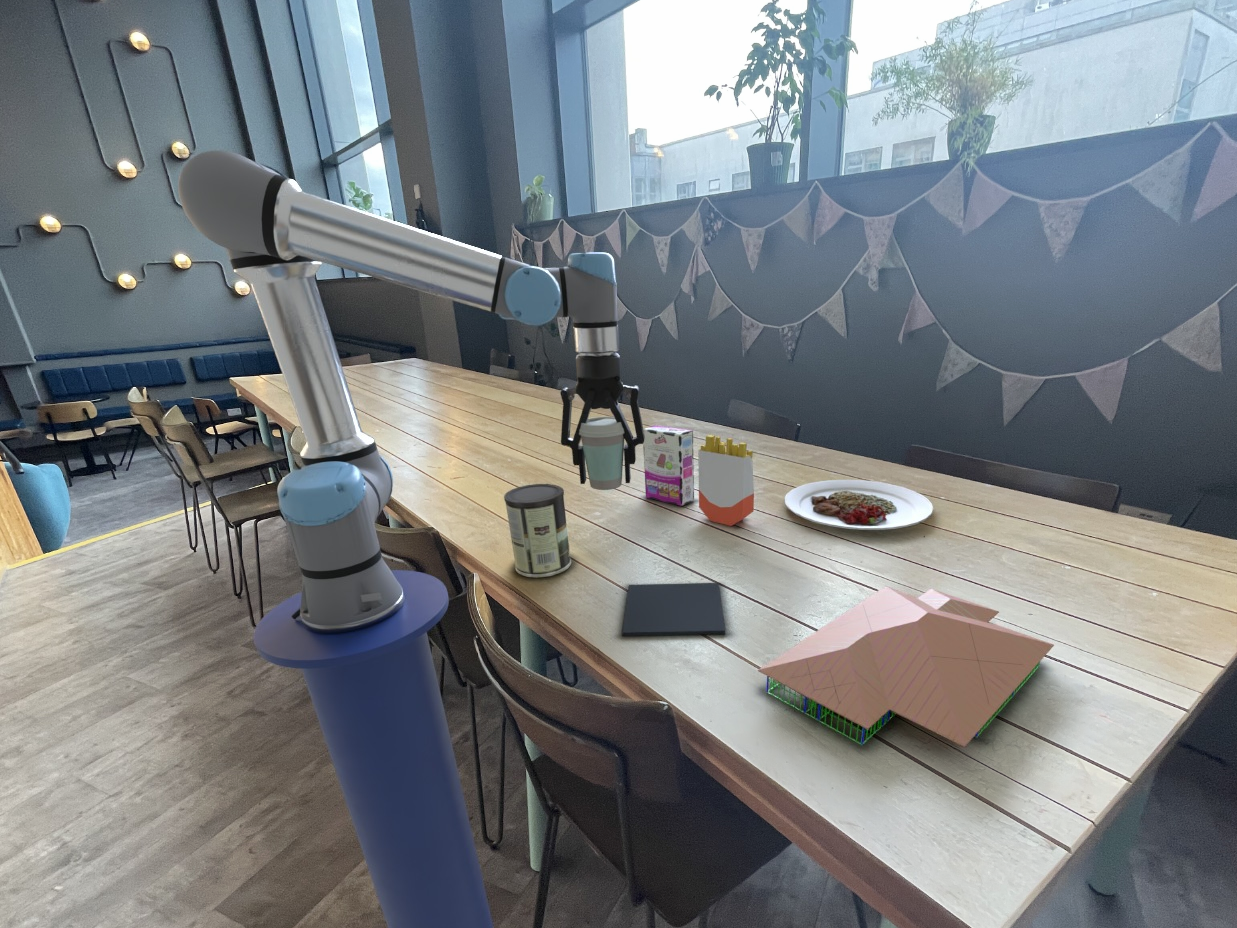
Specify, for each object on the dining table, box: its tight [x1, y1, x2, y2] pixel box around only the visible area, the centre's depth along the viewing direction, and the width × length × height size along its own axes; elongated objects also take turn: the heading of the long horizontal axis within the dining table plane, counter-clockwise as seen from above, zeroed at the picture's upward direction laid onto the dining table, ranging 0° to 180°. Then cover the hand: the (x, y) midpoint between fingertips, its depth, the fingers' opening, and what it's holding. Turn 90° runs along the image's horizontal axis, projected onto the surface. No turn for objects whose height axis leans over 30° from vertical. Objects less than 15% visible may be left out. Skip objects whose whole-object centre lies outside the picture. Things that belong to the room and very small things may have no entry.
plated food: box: [784, 479, 934, 531], centre depth 131 cm, size 30×30×3 cm
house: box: [757, 585, 1055, 748], centre depth 76 cm, size 23×33×8 cm
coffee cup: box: [579, 416, 625, 491], centre depth 111 cm, size 8×8×12 cm
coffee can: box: [503, 483, 572, 579], centre depth 109 cm, size 10×10×14 cm
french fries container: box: [697, 434, 755, 527], centre depth 125 cm, size 5×11×18 cm, turn 50°
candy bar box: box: [642, 425, 695, 507], centre depth 139 cm, size 11×5×16 cm, turn 49°
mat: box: [621, 582, 726, 637], centre depth 96 cm, size 15×15×1 cm
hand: (605, 481), depth 114 cm, fingers closed on coffee cup, 8 cm apart
